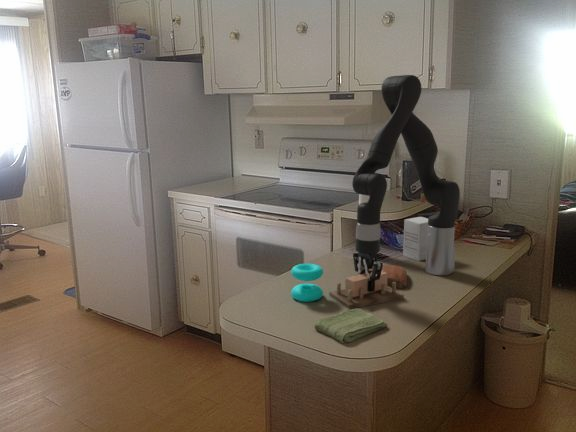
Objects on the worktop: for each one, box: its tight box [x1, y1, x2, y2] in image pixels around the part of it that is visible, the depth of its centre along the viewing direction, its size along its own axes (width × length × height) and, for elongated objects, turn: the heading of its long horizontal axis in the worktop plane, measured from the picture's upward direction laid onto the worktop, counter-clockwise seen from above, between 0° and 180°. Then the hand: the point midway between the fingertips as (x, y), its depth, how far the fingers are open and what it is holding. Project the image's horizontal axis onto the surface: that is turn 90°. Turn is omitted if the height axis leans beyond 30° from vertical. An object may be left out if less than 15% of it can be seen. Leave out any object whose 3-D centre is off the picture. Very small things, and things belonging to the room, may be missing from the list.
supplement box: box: [402, 216, 428, 262], centre depth 212 cm, size 9×9×15 cm
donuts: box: [290, 263, 324, 303], centre depth 171 cm, size 10×10×10 cm
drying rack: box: [329, 282, 405, 310], centre depth 172 cm, size 20×12×5 cm, turn 114°
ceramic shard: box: [369, 264, 408, 289], centre depth 187 cm, size 15×6×15 cm
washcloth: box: [314, 308, 389, 344], centre depth 149 cm, size 13×18×3 cm
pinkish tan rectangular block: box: [344, 271, 388, 297], centre depth 171 cm, size 14×4×5 cm, turn 124°
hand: (366, 288), depth 172 cm, fingers closed on pinkish tan rectangular block, 4 cm apart
